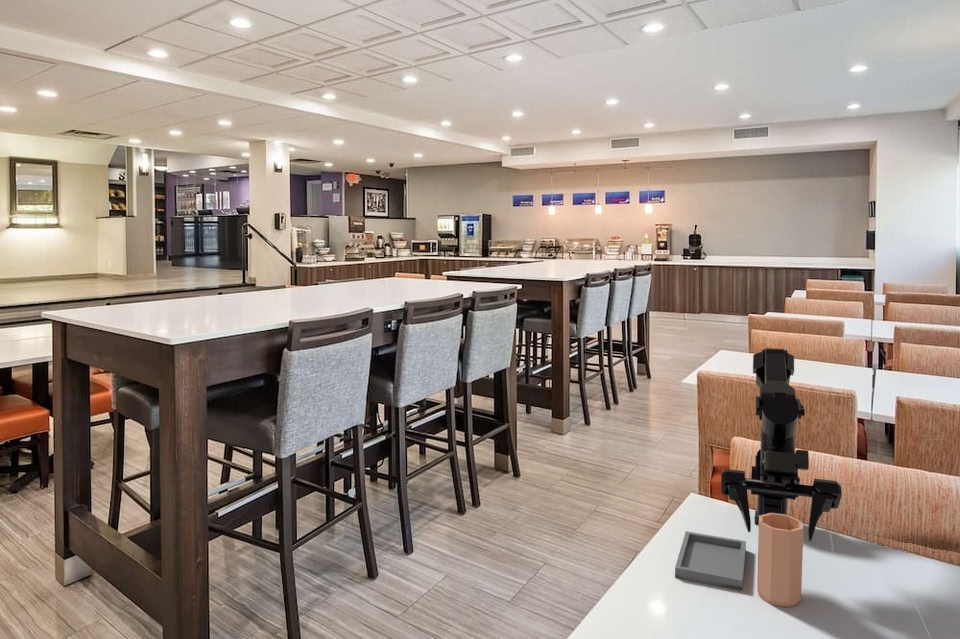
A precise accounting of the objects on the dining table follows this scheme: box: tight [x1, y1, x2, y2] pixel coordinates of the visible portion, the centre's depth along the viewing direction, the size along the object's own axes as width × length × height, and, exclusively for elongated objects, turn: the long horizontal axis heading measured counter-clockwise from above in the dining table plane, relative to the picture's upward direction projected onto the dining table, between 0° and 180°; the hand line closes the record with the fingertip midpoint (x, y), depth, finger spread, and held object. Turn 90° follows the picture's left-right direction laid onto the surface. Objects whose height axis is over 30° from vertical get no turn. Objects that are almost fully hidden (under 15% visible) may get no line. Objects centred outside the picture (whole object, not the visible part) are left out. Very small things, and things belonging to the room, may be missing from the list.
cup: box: [756, 513, 804, 608], centre depth 100 cm, size 6×6×13 cm
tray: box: [674, 531, 747, 591], centre depth 112 cm, size 15×11×2 cm
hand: (779, 535), depth 102 cm, fingers open, 9 cm apart
